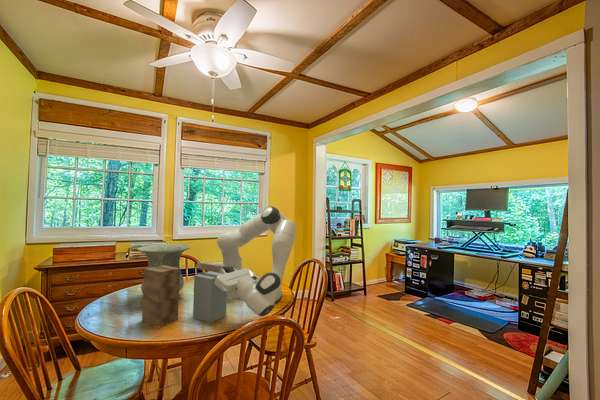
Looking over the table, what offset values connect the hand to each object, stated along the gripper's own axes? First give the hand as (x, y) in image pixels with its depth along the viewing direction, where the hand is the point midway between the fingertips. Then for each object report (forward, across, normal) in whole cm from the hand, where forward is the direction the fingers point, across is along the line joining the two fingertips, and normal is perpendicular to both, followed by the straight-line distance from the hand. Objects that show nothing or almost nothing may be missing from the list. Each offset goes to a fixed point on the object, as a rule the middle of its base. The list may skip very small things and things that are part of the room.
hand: (225, 268), depth 129 cm
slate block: (-4, 0, -26) cm, 26 cm away
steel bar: (+5, 0, -5) cm, 7 cm away
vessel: (+30, 0, -46) cm, 54 cm away
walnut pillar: (+9, -16, -33) cm, 38 cm away
